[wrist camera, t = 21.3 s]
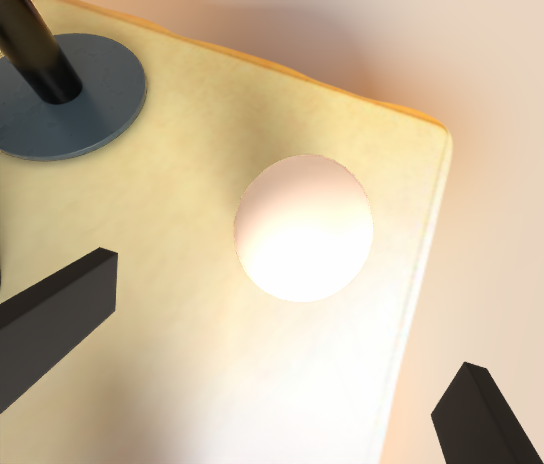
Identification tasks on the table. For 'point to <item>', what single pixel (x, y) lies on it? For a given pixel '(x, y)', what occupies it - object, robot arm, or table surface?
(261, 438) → the table surface
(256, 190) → the egg
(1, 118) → the lid
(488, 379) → the robot arm
